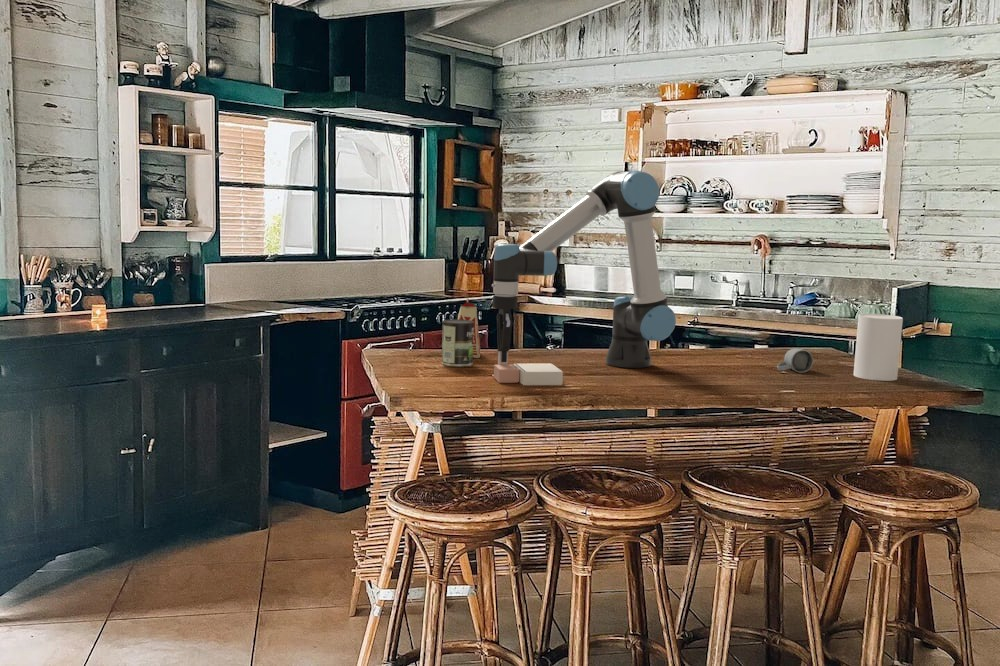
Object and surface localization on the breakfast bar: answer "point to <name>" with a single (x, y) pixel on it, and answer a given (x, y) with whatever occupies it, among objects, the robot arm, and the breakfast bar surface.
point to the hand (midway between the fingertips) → (502, 371)
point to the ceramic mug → (796, 361)
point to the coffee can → (457, 342)
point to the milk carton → (470, 313)
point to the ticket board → (539, 374)
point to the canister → (878, 347)
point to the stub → (506, 373)
